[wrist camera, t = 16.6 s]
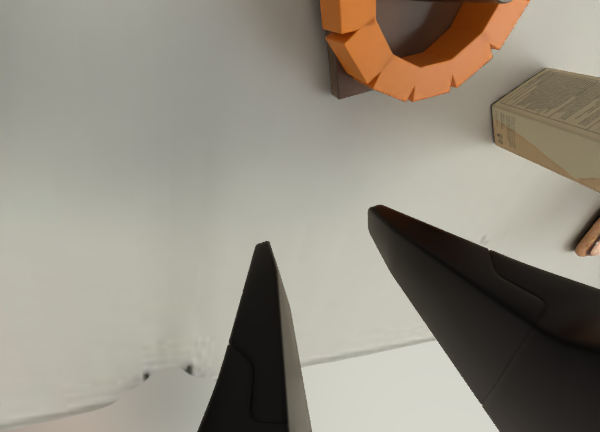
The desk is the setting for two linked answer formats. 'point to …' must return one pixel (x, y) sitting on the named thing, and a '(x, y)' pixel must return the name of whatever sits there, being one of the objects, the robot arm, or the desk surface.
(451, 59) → the orange ring
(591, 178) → the box
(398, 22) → the brown peg stand
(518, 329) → the robot arm
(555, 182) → the desk surface
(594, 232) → the case
